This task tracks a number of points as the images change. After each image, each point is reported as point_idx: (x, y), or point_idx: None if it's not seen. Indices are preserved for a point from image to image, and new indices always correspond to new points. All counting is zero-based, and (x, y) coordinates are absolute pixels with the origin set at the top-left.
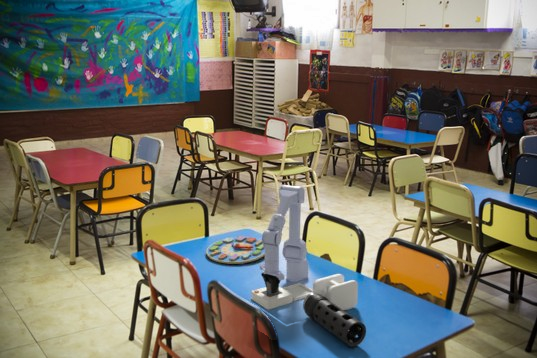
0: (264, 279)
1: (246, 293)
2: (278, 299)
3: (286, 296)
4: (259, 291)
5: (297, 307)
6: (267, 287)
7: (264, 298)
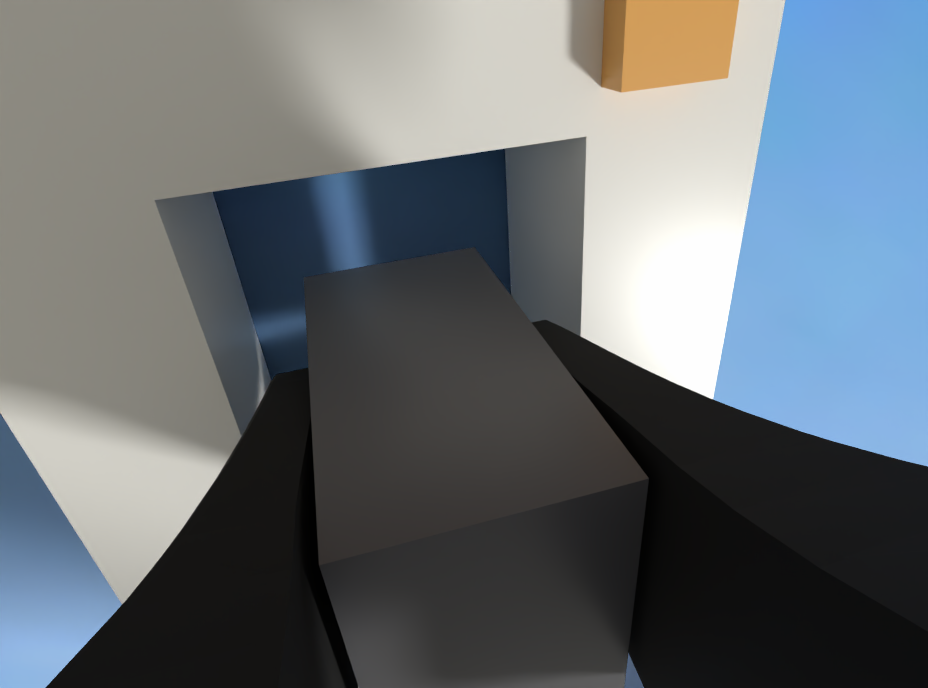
0: (787, 470)
1: (906, 15)
2: (11, 392)
3: (111, 573)
4: (631, 131)
5: (18, 554)
6: (493, 360)
7: (102, 25)
